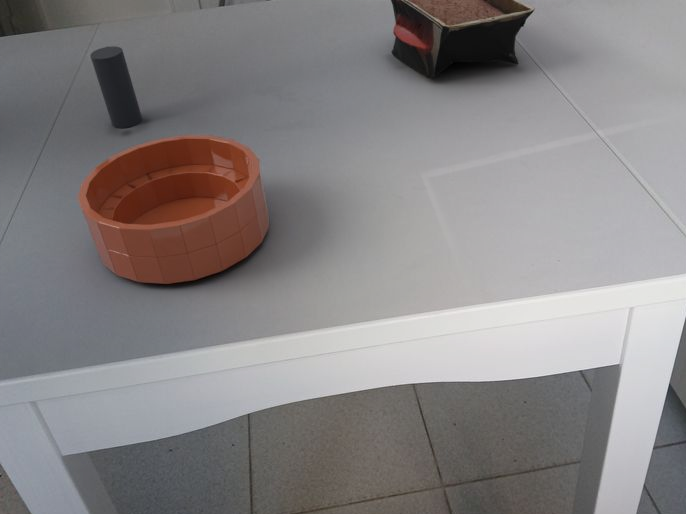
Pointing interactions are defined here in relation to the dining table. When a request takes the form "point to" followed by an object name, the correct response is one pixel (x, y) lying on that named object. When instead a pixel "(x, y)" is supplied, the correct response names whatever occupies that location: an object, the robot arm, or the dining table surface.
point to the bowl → (176, 208)
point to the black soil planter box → (456, 32)
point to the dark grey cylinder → (116, 86)
